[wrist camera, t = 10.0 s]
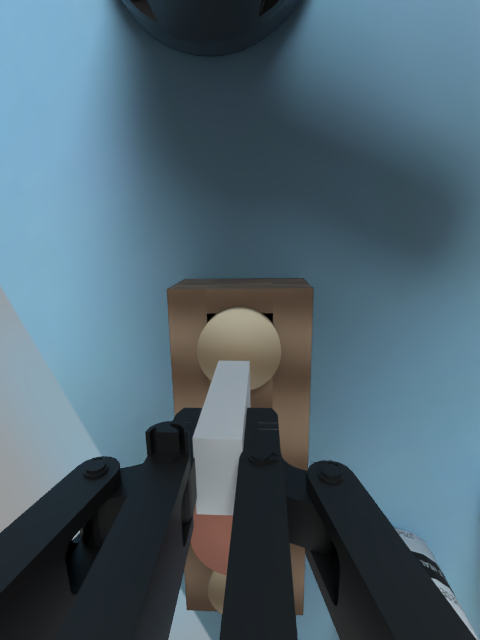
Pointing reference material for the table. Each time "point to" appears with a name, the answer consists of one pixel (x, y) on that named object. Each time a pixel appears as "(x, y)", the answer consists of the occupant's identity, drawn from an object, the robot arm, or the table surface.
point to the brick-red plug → (212, 540)
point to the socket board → (278, 393)
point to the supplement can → (433, 571)
